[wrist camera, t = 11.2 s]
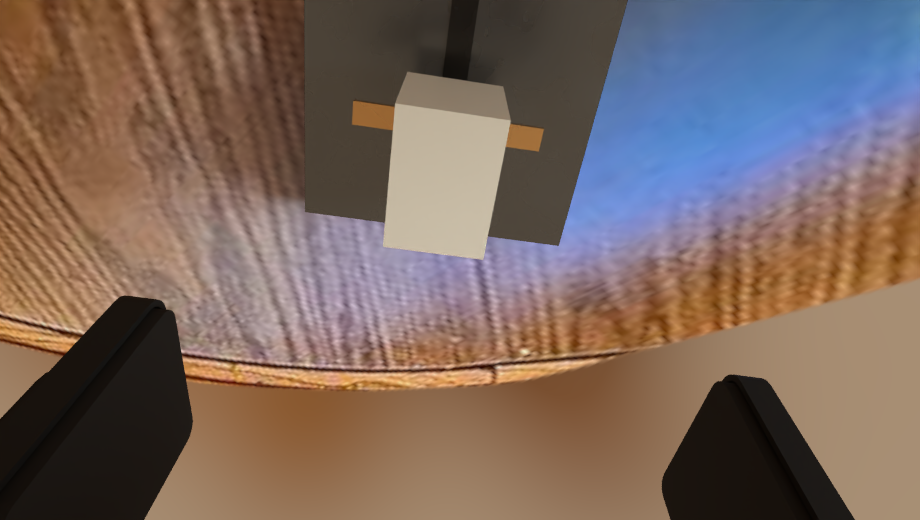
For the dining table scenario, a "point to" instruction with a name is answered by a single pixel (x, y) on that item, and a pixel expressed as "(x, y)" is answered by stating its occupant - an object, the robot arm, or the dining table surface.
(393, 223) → the fader knob
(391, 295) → the dining table surface
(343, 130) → the fader console
